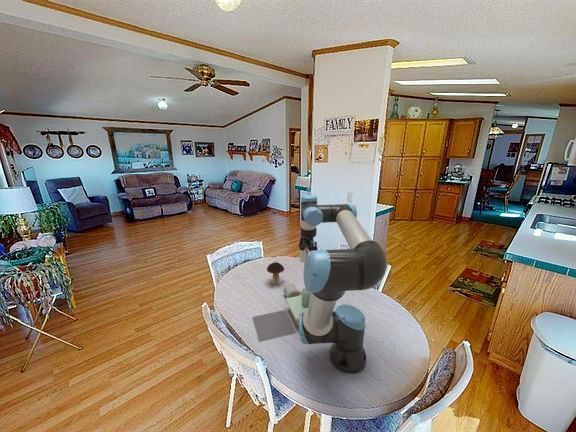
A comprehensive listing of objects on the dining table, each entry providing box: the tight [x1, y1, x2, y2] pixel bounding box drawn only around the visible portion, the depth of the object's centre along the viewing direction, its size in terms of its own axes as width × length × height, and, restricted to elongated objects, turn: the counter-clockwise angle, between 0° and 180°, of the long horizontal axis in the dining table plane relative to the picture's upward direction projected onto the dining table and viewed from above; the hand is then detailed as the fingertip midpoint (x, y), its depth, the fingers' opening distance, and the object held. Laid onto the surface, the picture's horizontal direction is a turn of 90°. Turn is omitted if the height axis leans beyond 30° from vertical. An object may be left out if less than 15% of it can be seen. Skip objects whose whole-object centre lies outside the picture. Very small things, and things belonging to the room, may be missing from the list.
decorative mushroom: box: [266, 261, 285, 286], centre depth 163 cm, size 11×11×15 cm
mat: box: [251, 309, 297, 343], centre depth 129 cm, size 18×18×1 cm
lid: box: [285, 288, 311, 321], centre depth 132 cm, size 17×17×9 cm
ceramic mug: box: [282, 283, 302, 298], centre depth 150 cm, size 11×8×8 cm
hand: (308, 268), depth 128 cm, fingers open, 13 cm apart
